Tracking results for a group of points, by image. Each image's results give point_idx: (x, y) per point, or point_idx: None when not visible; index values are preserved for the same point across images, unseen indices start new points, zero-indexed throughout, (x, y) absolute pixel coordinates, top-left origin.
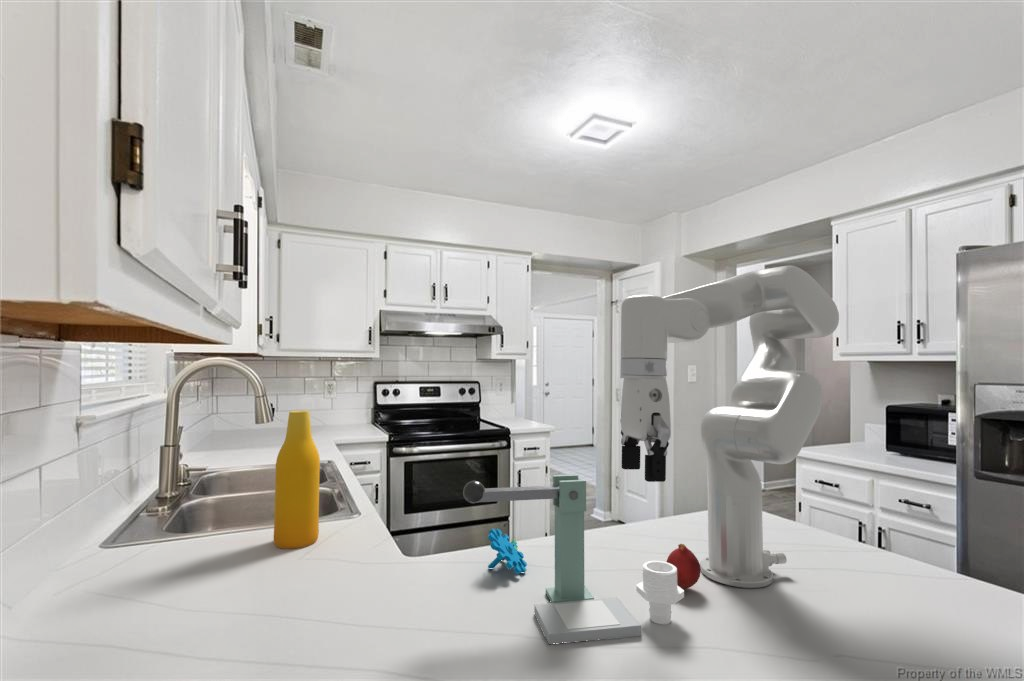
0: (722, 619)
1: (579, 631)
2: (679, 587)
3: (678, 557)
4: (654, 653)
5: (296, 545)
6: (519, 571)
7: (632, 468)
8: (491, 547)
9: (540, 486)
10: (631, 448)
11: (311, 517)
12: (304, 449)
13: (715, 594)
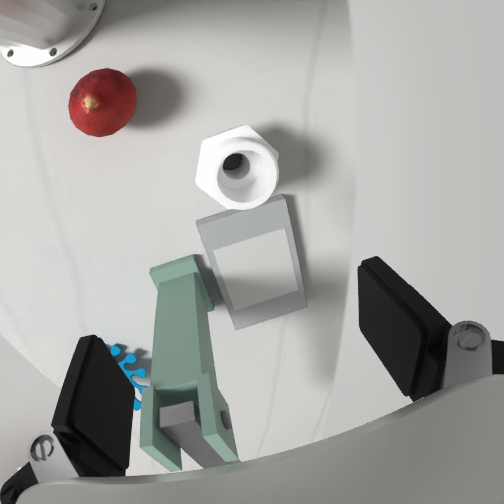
0: (222, 60)
1: (301, 276)
2: (232, 130)
3: (113, 113)
4: (320, 184)
5: None
6: (133, 355)
7: (117, 363)
8: None
9: (202, 464)
10: (107, 446)
11: None
12: None
13: (128, 50)
